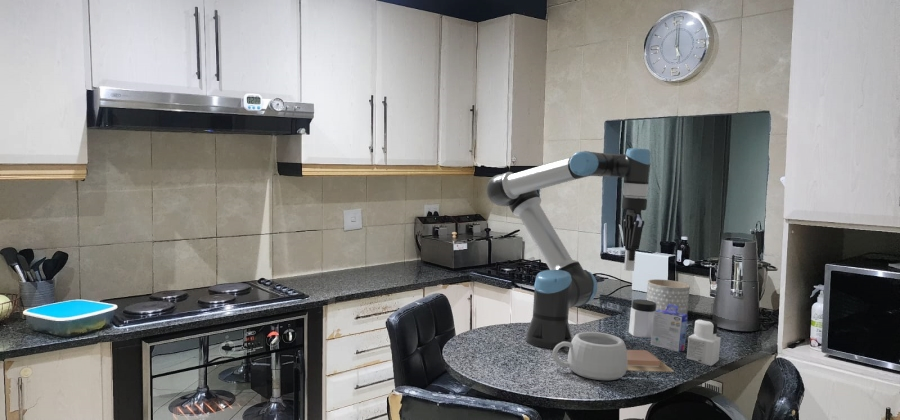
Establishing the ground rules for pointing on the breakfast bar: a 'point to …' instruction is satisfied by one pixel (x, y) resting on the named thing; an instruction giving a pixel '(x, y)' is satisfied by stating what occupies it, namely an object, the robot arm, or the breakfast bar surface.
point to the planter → (668, 294)
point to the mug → (595, 356)
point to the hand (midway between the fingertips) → (628, 270)
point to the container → (704, 342)
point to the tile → (641, 358)
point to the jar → (641, 318)
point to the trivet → (661, 367)
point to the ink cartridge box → (669, 329)
